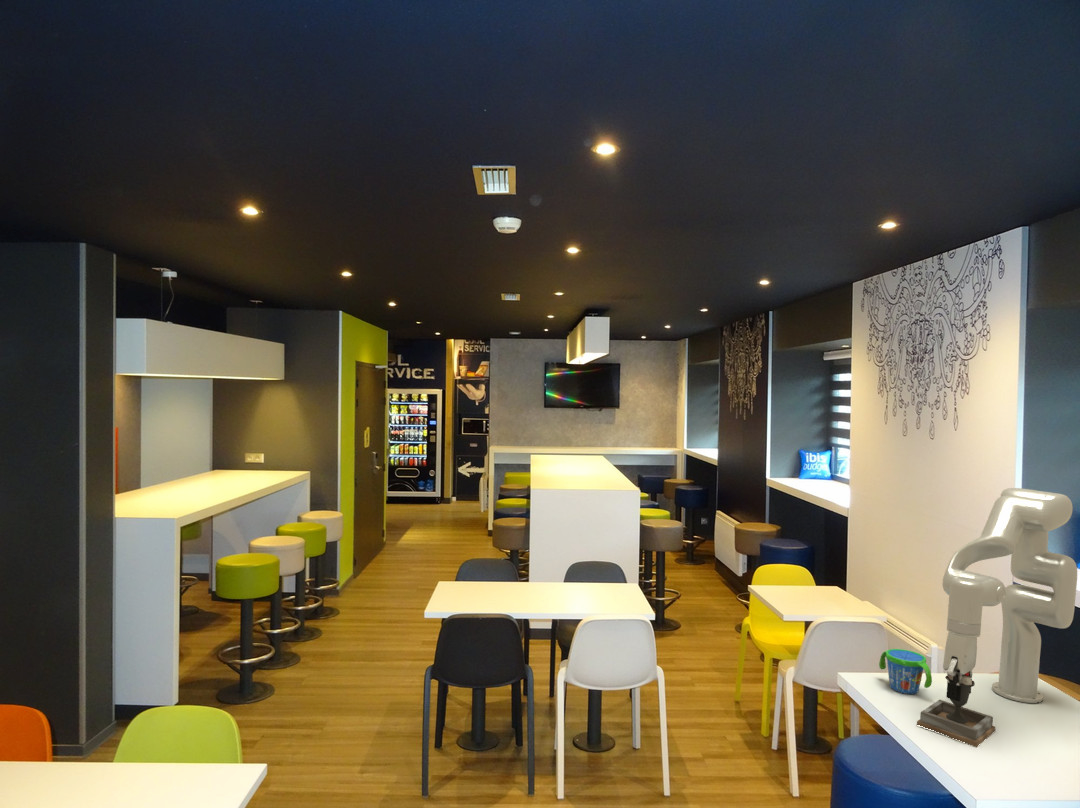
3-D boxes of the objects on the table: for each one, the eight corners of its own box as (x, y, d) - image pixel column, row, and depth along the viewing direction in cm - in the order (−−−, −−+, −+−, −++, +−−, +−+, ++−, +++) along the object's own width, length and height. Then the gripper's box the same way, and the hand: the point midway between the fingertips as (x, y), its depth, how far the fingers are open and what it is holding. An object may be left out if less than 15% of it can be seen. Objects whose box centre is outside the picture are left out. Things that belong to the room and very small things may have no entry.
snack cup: (868, 680, 225) (871, 646, 225) (896, 677, 229) (898, 644, 228) (911, 702, 210) (914, 666, 210) (940, 699, 214) (942, 663, 214)
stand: (937, 711, 205) (938, 698, 205) (995, 731, 195) (996, 717, 195) (916, 725, 196) (917, 711, 196) (976, 747, 185) (977, 732, 185)
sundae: (976, 726, 192) (980, 667, 191) (947, 722, 193) (951, 664, 192) (966, 715, 198) (971, 658, 197) (938, 711, 199) (943, 655, 199)
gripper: (959, 616, 203) (955, 682, 204) (935, 629, 191) (930, 699, 192) (991, 624, 198) (986, 692, 198) (967, 637, 186) (962, 709, 187)
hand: (958, 695), depth 195 cm, fingers closed on sundae, 6 cm apart
